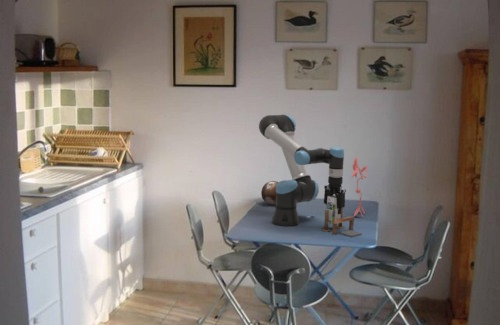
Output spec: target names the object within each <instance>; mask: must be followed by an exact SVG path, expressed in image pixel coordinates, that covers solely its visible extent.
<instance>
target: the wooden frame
mask: <svg viewBox="0 0 500 325" xmlns="http://www.w3.org/2000/svg"><path fill="white" fill-rule="evenodd" d="M343 209H344V208H342V209H341V219H336V220H333V224H332V235H337V234H338V229H344V228H345V226H344V225H343V223H345V222H349V224H348V230H352V231H354V224H355V222H354V221H355V219H354V218H355V217H354V216H352V215H351V216H348V217H347V216H346V218H345V217H344V216H343V213H344V210H343ZM328 220H329V210H326V209H325V210H324V228H322V229H321V231H322V232H325V231H329V232H331V228H329V223H328ZM337 223H338V224H337Z"/></svg>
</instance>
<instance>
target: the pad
mask: <svg viewBox="0 0 500 325" xmlns="http://www.w3.org/2000/svg"><path fill="white" fill-rule="evenodd" d="M339 235H343V236H346V237H350V238H355V237H358V236H362V232H359V231H355V230H349V229H348V230H343V231H340V232H339Z"/></svg>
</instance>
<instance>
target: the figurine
mask: <svg viewBox="0 0 500 325" xmlns="http://www.w3.org/2000/svg"><path fill="white" fill-rule="evenodd" d="M353 160H354V161H353V164H352V169H353V172H352V174H351V178H353V177H354V178H355V179H357V180H356V186H357V187H356V189H355V192H356V193H357V195H358V197H359V202H358V207H357V208H356V210H355V211H354V213H353V217H354V218H355V217H356V216H357V215H358V214H359V212H360V215H361V217H362V218H364V214H365V212H366V211H365V210H364V208H363V206H362V205H363V204H362V203H361V202H362V194H363V193H362V192H361V189H360V188H359V180H364V178H365V179H366V178H367V172H368V165H365V166H364V167H362V168H361V169H360V166H359V164H358V157H356V156H354V159H353ZM364 171H365V175H363V172H364ZM358 172H359V175H360V177H359V178H357V177H358ZM361 209H362V212H363V213H362V212H361ZM346 217H347V216H346ZM346 217H345V216H344V218H346Z"/></svg>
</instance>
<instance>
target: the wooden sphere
mask: <svg viewBox="0 0 500 325" xmlns="http://www.w3.org/2000/svg"><path fill="white" fill-rule="evenodd" d="M278 182H279V181H275V180H271V181H268V182H266V183H264V185H263V186H262V189H261V198H262V200H263V201H264V202H265V203H266V204H267V205H272V206H276V186H277V183H278Z"/></svg>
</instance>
